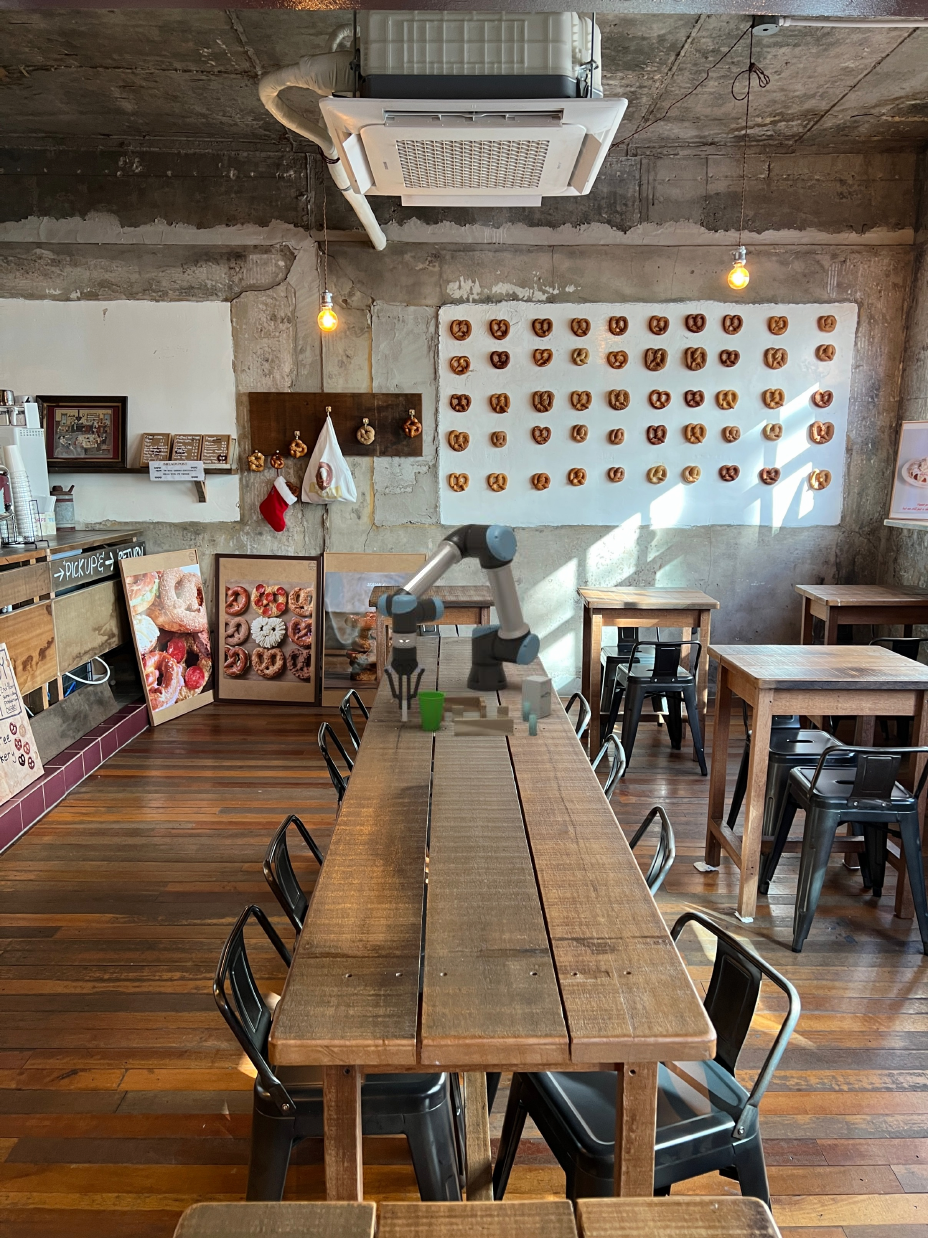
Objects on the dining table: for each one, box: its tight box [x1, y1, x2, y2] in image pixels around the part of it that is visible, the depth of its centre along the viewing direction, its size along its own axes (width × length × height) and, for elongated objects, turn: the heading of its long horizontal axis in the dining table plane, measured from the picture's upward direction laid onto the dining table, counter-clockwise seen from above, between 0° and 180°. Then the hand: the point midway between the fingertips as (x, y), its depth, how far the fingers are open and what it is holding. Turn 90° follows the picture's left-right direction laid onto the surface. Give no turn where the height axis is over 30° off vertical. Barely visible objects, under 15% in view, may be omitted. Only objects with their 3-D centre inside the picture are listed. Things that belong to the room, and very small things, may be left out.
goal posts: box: [522, 702, 538, 737], centre depth 273 cm, size 17×2×6 cm, turn 3°
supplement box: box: [520, 674, 553, 720], centre depth 287 cm, size 7×7×13 cm
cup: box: [417, 690, 447, 732], centre depth 271 cm, size 9×9×11 cm
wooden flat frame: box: [440, 695, 515, 737], centre depth 279 cm, size 28×22×5 cm
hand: (404, 719), depth 271 cm, fingers closed
